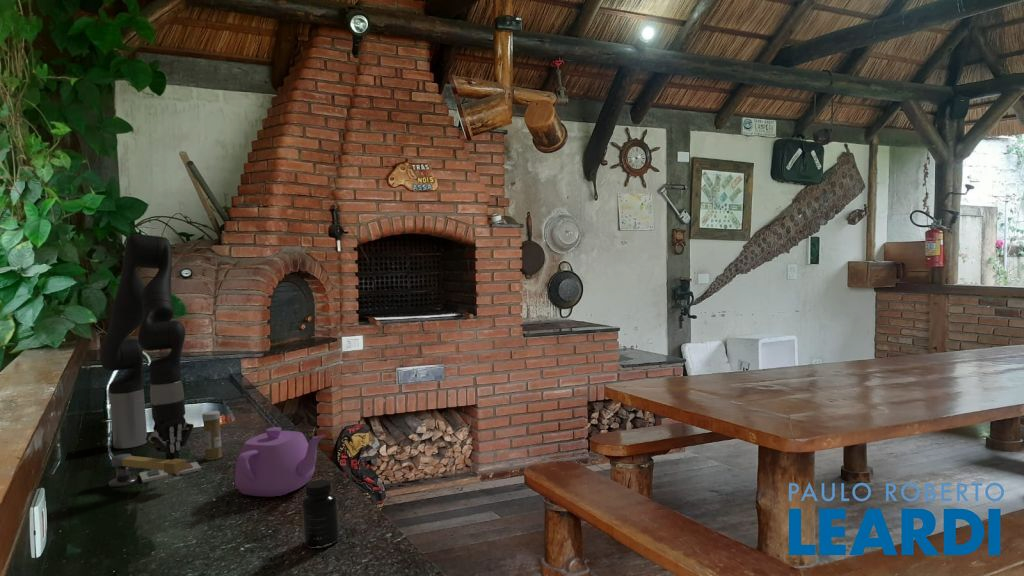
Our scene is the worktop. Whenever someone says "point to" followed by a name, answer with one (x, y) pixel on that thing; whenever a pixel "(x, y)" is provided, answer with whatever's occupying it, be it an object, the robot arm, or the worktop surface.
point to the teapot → (275, 463)
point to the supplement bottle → (320, 514)
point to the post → (122, 477)
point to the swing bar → (150, 463)
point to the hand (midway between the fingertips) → (173, 465)
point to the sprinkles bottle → (212, 435)
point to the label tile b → (190, 468)
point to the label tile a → (152, 475)
